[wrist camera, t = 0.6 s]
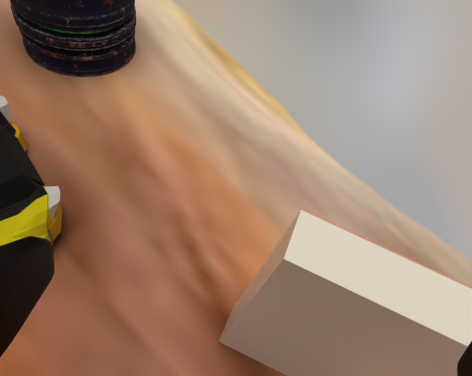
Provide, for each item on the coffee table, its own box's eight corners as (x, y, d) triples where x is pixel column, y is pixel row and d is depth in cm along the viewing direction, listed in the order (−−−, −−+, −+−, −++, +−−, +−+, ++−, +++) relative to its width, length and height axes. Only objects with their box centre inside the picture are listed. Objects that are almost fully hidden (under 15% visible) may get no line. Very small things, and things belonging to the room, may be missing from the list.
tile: (362, 413, 20) (569, 394, 10) (218, 341, 20) (283, 258, 11) (368, 371, 21) (555, 320, 11) (233, 305, 21) (303, 203, 12)
